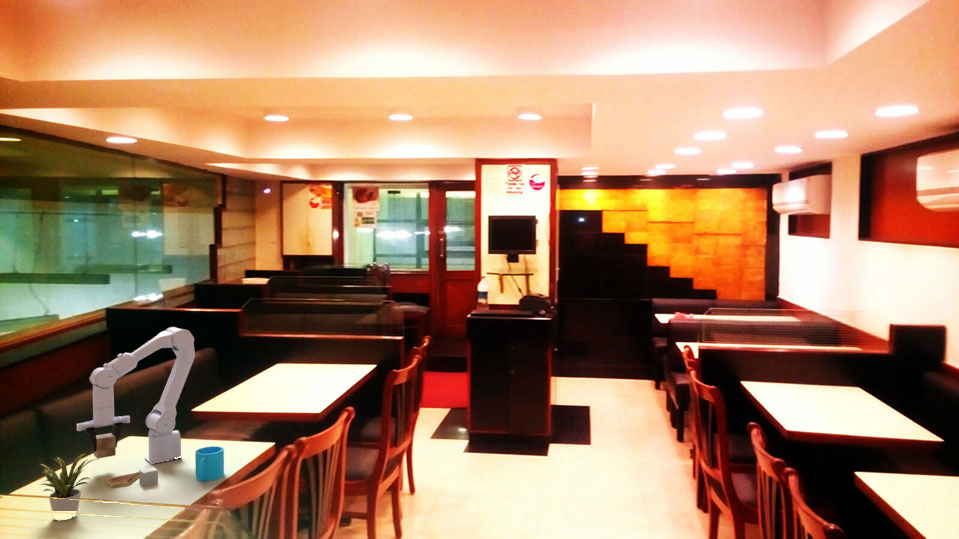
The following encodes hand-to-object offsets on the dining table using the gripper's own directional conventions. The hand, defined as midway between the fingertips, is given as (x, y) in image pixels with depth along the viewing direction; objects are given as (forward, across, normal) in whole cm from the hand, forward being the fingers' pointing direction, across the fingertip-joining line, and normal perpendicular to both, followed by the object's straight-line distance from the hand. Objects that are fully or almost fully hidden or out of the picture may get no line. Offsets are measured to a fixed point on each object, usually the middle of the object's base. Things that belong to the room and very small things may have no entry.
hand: (104, 449), depth 206 cm
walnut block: (+2, 0, 0) cm, 2 cm away
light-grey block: (+8, +7, -19) cm, 22 cm away
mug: (+8, +22, -27) cm, 36 cm away
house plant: (+7, -15, -31) cm, 35 cm away
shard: (+8, +2, -12) cm, 15 cm away
